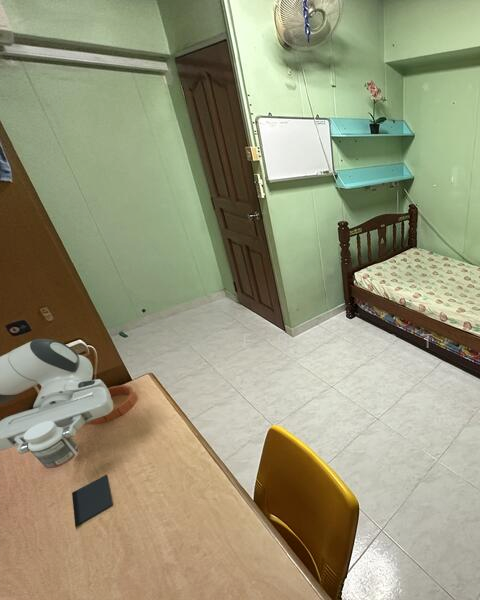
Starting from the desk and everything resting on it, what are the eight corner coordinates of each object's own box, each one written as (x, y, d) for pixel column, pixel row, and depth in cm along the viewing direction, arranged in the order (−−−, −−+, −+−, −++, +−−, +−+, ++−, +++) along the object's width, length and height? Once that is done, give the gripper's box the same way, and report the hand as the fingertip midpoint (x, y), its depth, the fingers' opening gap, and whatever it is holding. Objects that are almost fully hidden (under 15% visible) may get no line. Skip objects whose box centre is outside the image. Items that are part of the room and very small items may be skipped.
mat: (39, 548, 65) (37, 547, 64) (38, 512, 71) (37, 511, 70) (112, 505, 72) (112, 504, 72) (107, 475, 78) (106, 474, 78)
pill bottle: (55, 450, 73) (31, 421, 68) (85, 444, 74) (63, 415, 69) (39, 473, 68) (12, 444, 63) (71, 466, 70) (47, 437, 65)
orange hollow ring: (86, 431, 89) (81, 424, 88) (82, 406, 97) (77, 399, 96) (140, 407, 97) (136, 400, 96) (132, 386, 105) (129, 379, 103)
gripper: (-8, 410, 71) (-36, 458, 61) (108, 376, 81) (101, 412, 71) (8, 429, 74) (-16, 477, 64) (118, 394, 84) (113, 431, 74)
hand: (47, 442), depth 67 cm, fingers closed on pill bottle, 5 cm apart
